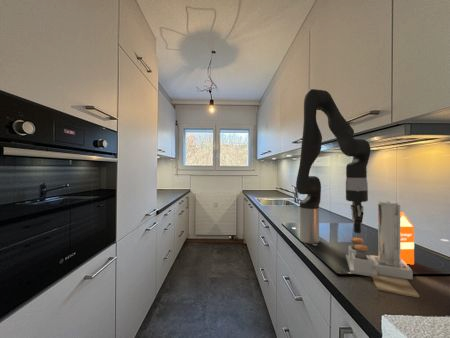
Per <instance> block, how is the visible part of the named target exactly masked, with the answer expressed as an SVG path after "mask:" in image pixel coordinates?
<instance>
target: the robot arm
mask: <svg viewBox="0 0 450 338" xmlns="http://www.w3.org/2000/svg"><path fill="white" fill-rule="evenodd" d="M317 111H321V112H323V113H324V115H326V117H327V125H328V128H329V130H330V131H331V133H332V134H333V135H334V137H335V138H336V141H337V143H338V146H339V149H340V151H341V152H342V153H343V155H345V156H346V157H352V161H351V162H349V163H348V164H346V166H345V167H346V168H345V174H346V175H345V177H346V179H345V200H346V201H347V202H352V204H350V210H351V211H350V212H351V218H352V222H353V232H354V233H355V234H361V232H362V227H361V224H362V223H363V217H364V214H365V213H364V206H363V205H362V203H366V202H368V201H369V194H368V193H369V188H368V186H369V185H368V184H369V183H368V177H367V175H368V174H367V173H368V172H367V170H368V169H367V167H368V163H369V159H370V156H371V150H372V149H371V145H370V143H369V142H368V141H367V140H366V139H361V138H355V137H354V135H355V131H354V129H353V127H352V126H351V125H350V123H349V122H348V121H347V120H346V119H345V118H344V116H343V115H342V113H341V112H340V110H339V108H338V106H337V105H336V103H335V100H334V99H333V97H332V95H331V93H330V92H329V91H327V90H323V89H316V88H311V89H309V90H308V91H306V93H305V95H304V99H303V126H302V127H303V129H302V138H301V145H300V146H301V147H300V149H301V150H300V159H299V167H298V170H297V176H296V182H295V184H296V185H295V187H296V191H297V193H298V194H299V195H307V196H306V197H305V198H304V199H302V200H300V202H299V241H301V242H302V243H303V244H304V243H305V244H313V245H314V244H319V243H320V204H321V197H322V196H321V195H322V192H321V191H322V183H321V180H320V178H319V177H317V176H315V175H310V171H311V169H312V166H313V164H314V163H315V161H316V160H317V159H318V157H319V155H320V154H321V151H322V142H323V135H322V133H321V129H320V127H319V125H318V121H317Z"/></svg>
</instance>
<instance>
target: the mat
mask: <svg viewBox="0 0 450 338" xmlns="http://www.w3.org/2000/svg"><path fill="white" fill-rule="evenodd" d="M370 277H371V279H372V281H373V283H374V285H375V287H376V289H377V291H379V292H386V293H389V294H397V295H400V296H401V295H402V296H407V297H414V298H420V294H419V293H418V292H417V291H416V289H415V288H414V287H413V286H412V285H411V283H410V282H409V279H404V278H397V277H390V276H384V275H379V274H377V275H371V276H370Z"/></svg>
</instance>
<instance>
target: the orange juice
mask: <svg viewBox="0 0 450 338" xmlns="http://www.w3.org/2000/svg"><path fill="white" fill-rule="evenodd" d="M400 237H401V259H402V260H403V261H404V262H405V263H406V264H410V265H415V226H413V223H412V222H411V221H410V219H409V218H408V217H407V215H406V214H405V212H403V211H400Z"/></svg>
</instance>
